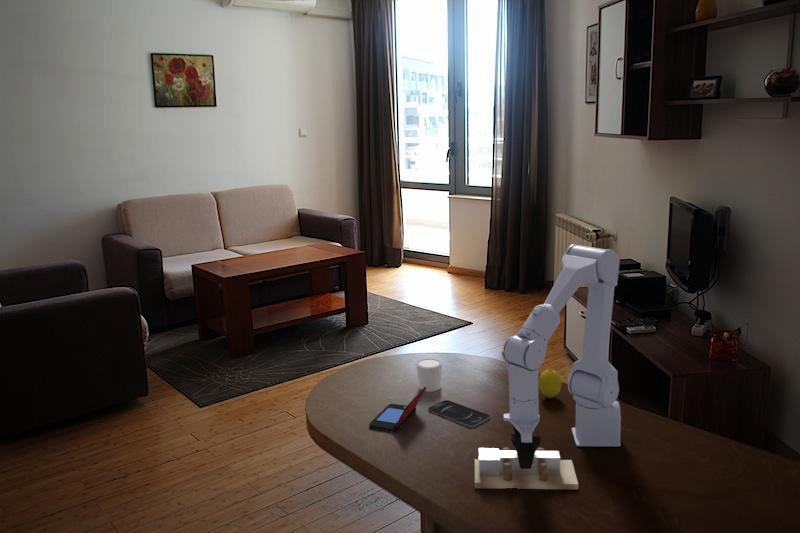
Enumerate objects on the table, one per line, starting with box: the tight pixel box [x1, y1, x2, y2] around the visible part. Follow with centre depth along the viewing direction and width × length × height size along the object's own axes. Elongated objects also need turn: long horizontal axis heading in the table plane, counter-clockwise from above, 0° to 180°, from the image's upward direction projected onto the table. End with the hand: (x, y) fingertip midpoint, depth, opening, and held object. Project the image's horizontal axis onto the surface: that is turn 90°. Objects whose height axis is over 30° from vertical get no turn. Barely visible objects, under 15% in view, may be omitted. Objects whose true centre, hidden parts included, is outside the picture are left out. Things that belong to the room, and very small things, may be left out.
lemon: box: [538, 368, 562, 399], centre depth 171 cm, size 6×6×8 cm
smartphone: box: [427, 399, 491, 429], centre depth 166 cm, size 8×1×15 cm
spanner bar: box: [478, 447, 561, 477], centre depth 137 cm, size 16×5×4 cm, turn 84°
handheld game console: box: [369, 387, 426, 434], centre depth 164 cm, size 12×11×7 cm
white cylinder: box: [416, 358, 443, 393], centre depth 182 cm, size 7×7×7 cm
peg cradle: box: [474, 447, 579, 490], centre depth 137 cm, size 20×9×4 cm, turn 84°
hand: (524, 457), depth 136 cm, fingers open, 7 cm apart
